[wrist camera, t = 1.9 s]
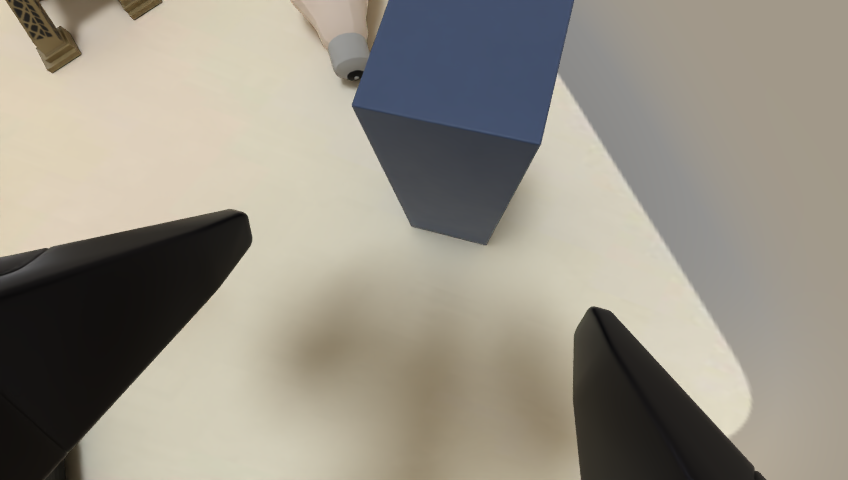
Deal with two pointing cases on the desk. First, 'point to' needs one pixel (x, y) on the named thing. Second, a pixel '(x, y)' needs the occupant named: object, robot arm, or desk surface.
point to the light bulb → (340, 32)
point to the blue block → (460, 104)
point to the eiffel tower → (60, 29)
